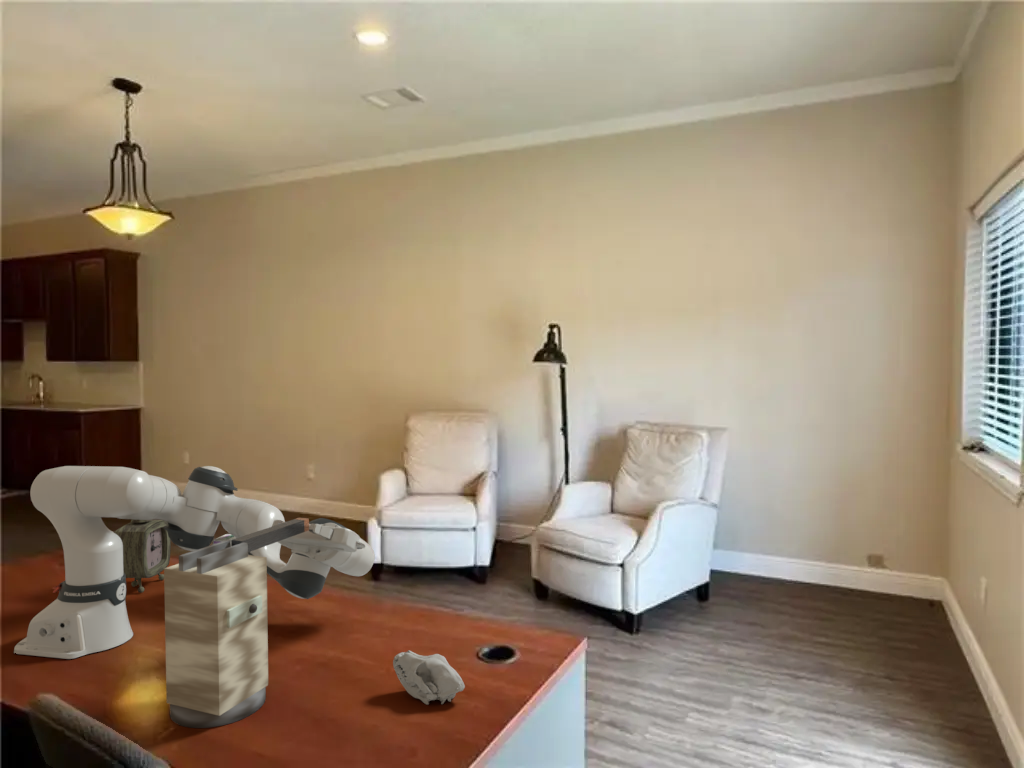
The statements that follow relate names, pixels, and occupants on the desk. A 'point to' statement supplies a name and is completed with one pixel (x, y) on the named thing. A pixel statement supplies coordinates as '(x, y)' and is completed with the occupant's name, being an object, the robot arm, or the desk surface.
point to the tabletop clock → (144, 549)
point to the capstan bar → (273, 534)
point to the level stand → (216, 635)
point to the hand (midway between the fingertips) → (294, 525)
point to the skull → (427, 676)
